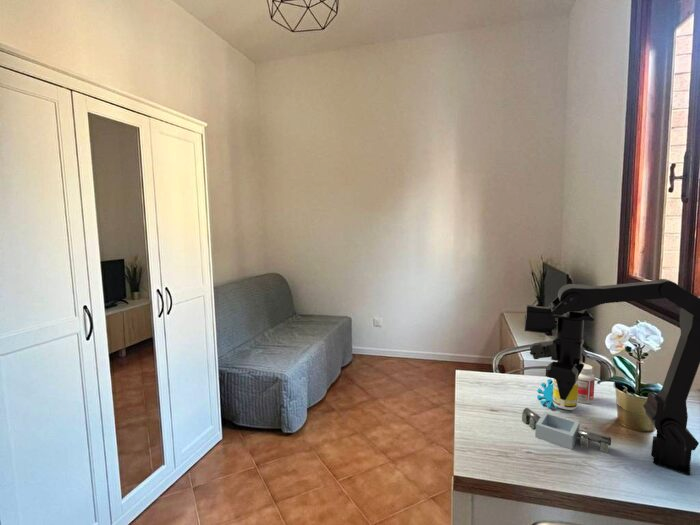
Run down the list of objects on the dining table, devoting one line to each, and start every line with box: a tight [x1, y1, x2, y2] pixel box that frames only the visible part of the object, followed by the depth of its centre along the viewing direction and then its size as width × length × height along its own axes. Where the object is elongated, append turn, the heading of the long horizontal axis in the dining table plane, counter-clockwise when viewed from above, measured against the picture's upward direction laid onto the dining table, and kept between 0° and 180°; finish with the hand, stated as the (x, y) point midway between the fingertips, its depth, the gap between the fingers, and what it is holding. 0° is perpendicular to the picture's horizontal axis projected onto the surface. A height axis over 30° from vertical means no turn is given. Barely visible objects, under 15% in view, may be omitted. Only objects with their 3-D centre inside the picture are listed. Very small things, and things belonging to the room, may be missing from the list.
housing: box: [534, 411, 581, 450], centre depth 99 cm, size 8×8×4 cm
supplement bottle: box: [553, 379, 578, 411], centre depth 95 cm, size 5×5×10 cm
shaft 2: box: [577, 428, 612, 454], centre depth 95 cm, size 7×3×4 cm, turn 59°
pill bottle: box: [577, 362, 596, 404], centre depth 119 cm, size 6×6×11 cm
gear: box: [536, 378, 573, 412], centre depth 116 cm, size 11×6×10 cm
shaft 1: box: [521, 407, 541, 430], centre depth 105 cm, size 6×3×4 cm, turn 14°
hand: (565, 395), depth 96 cm, fingers closed on supplement bottle, 5 cm apart
